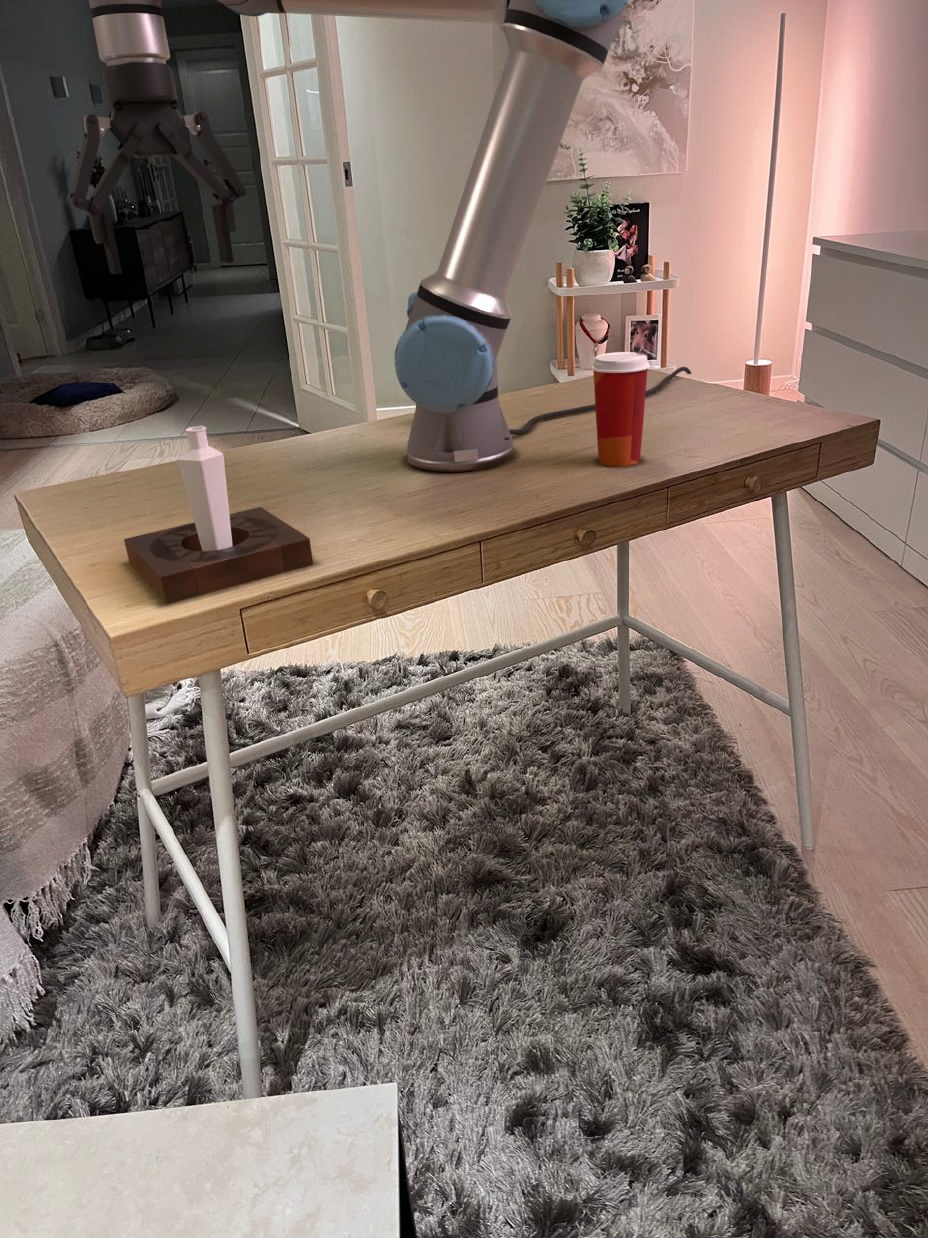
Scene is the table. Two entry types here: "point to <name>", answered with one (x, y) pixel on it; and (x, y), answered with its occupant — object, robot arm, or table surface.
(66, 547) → the table surface
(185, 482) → the perfume bottle
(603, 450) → the paper cup
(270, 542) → the socket pad
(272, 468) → the table surface
